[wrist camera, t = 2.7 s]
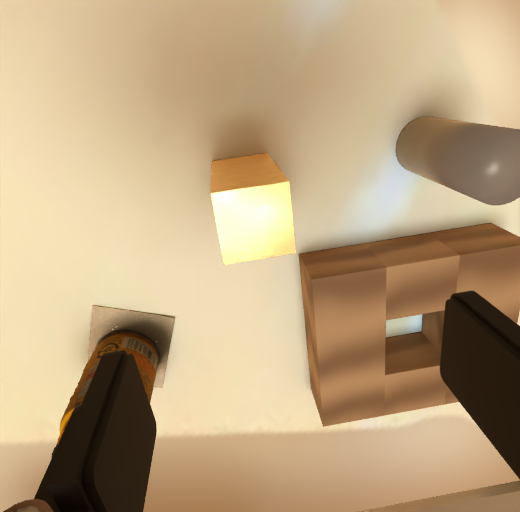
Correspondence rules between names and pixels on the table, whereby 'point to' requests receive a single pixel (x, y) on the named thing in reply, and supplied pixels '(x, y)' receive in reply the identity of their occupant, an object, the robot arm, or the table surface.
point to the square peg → (252, 208)
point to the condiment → (125, 348)
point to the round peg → (464, 157)
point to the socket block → (396, 315)
